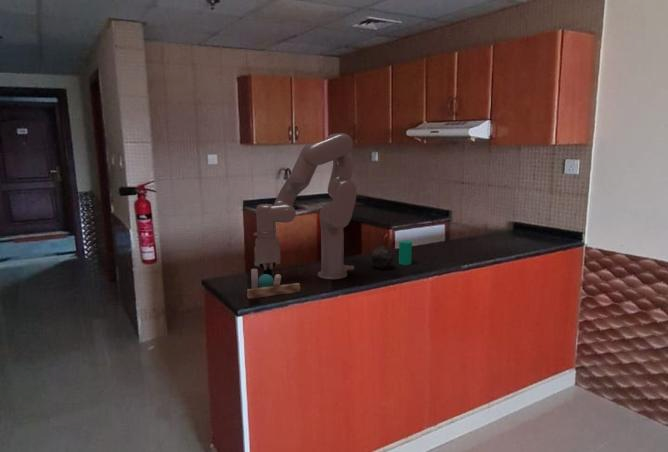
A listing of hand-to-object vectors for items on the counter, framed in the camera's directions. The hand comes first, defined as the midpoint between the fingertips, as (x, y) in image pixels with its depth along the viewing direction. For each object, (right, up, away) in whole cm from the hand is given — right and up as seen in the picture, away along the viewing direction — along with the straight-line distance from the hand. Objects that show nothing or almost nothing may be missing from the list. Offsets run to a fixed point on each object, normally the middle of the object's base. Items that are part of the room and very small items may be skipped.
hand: (267, 278), depth 191 cm
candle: (+61, +4, +30) cm, 68 cm away
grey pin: (-3, -4, -13) cm, 14 cm away
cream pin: (+5, -2, -10) cm, 12 cm away
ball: (+1, 0, -10) cm, 10 cm away
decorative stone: (+49, +2, +22) cm, 54 cm away
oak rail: (+5, -4, -16) cm, 17 cm away
